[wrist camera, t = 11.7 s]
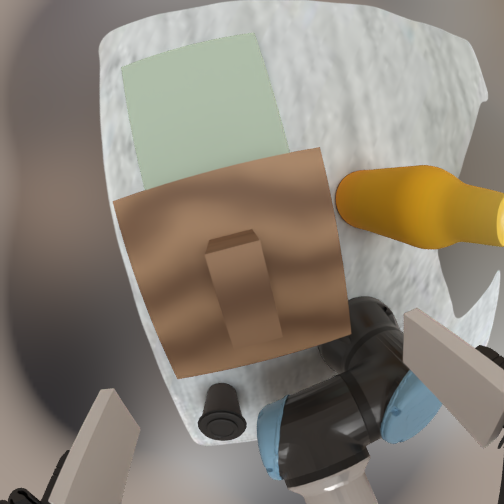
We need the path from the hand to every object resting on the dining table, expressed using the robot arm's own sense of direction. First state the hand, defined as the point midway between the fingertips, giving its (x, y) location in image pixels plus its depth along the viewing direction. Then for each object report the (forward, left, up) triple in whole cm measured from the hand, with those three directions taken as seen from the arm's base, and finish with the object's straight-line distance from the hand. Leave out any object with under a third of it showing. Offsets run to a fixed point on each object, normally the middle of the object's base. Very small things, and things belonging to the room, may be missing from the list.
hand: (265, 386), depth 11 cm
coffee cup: (-27, +10, -33) cm, 44 cm away
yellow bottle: (+2, -21, -33) cm, 39 cm away
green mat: (+22, 0, -33) cm, 39 cm away
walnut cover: (0, 0, -18) cm, 18 cm away
